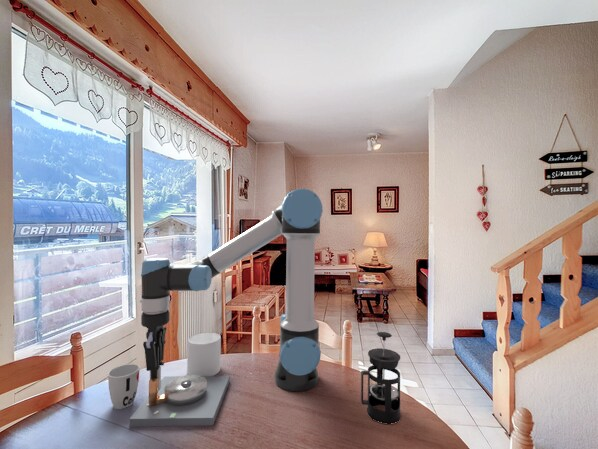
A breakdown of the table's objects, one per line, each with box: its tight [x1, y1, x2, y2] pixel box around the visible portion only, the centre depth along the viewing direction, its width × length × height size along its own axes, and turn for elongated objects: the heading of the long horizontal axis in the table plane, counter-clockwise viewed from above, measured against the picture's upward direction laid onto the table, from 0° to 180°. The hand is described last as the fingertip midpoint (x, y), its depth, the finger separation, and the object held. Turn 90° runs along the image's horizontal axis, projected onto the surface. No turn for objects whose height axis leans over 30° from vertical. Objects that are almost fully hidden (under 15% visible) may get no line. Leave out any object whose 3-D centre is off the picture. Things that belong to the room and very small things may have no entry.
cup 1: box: [107, 363, 140, 410], centre depth 87 cm, size 8×8×10 cm
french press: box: [360, 331, 402, 425], centre depth 84 cm, size 12×9×23 cm
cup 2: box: [186, 332, 222, 376], centre depth 107 cm, size 12×12×12 cm
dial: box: [148, 374, 207, 406], centre depth 87 cm, size 16×12×6 cm
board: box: [128, 375, 231, 427], centre depth 88 cm, size 22×22×2 cm
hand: (155, 389), depth 87 cm, fingers closed
